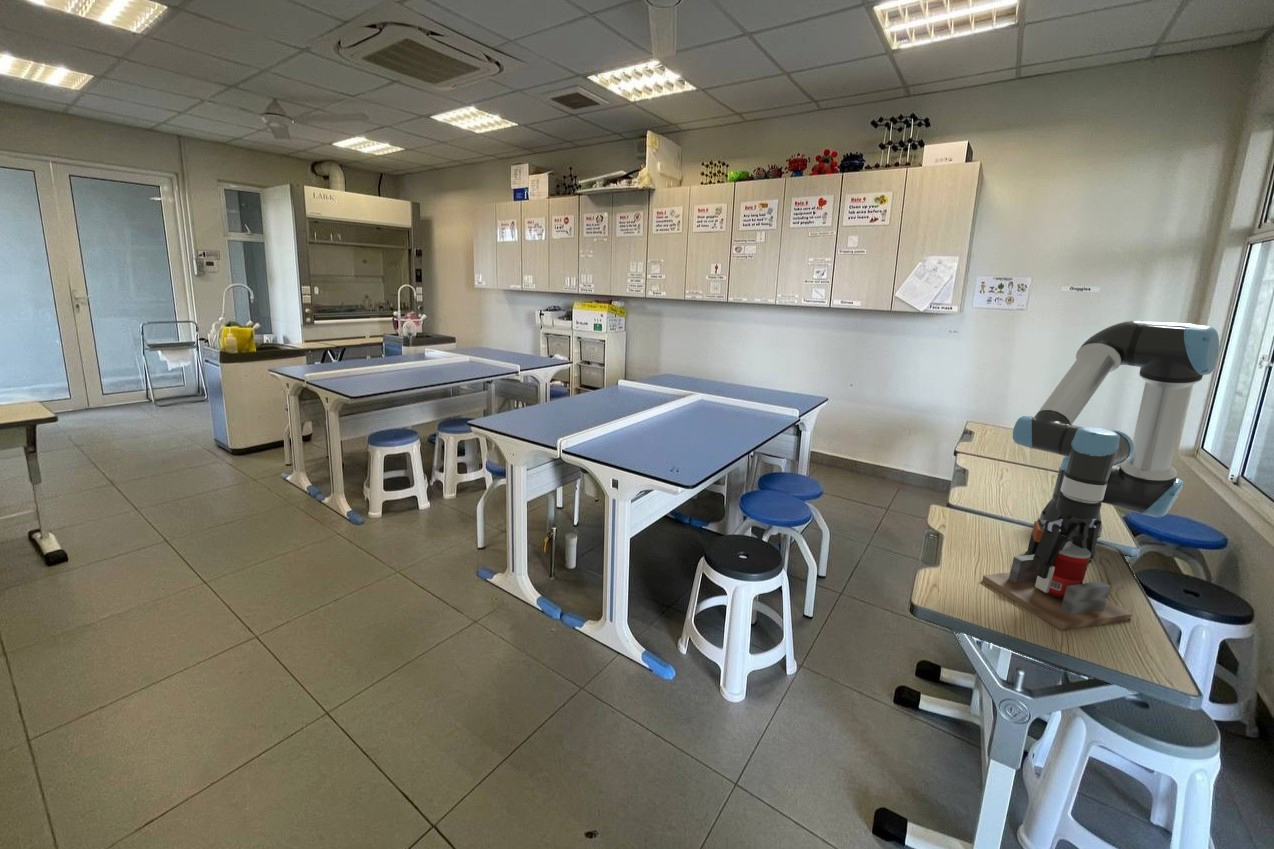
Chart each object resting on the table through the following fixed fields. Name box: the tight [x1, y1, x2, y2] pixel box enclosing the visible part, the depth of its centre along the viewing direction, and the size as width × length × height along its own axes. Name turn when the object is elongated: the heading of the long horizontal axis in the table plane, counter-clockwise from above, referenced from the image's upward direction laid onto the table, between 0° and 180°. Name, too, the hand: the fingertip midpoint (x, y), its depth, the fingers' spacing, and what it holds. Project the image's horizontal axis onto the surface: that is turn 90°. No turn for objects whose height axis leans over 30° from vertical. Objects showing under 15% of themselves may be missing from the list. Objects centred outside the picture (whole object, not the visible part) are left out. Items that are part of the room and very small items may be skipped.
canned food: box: [1048, 541, 1091, 598], centre depth 124 cm, size 8×8×11 cm
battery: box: [1027, 520, 1046, 555], centre depth 145 cm, size 4×7×10 cm, turn 150°
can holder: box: [981, 554, 1133, 631], centre depth 126 cm, size 20×20×8 cm
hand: (1055, 587), depth 126 cm, fingers closed on canned food, 8 cm apart
